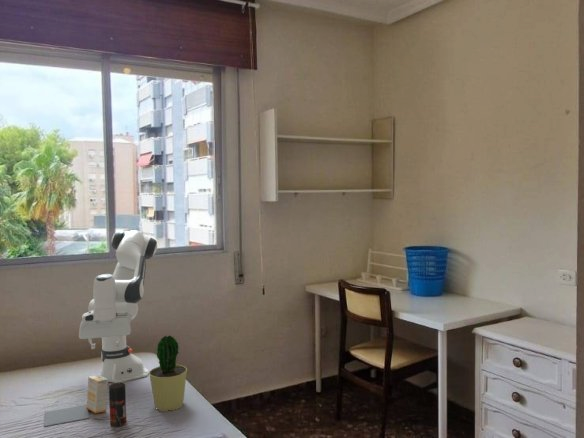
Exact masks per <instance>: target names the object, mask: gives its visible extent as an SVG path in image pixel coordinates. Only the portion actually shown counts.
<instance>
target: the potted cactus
mask: <svg viewBox="0 0 584 438" xmlns="http://www.w3.org/2000/svg"><path fill="white" fill-rule="evenodd" d="M179 343H180V342H179V341H177V339H175V336H174V335H173V336H172V335H164V336H162V337H161V338H160V340H159V341H158V343H157V345H156V346H157V347H155V350H156V358H157V361H156V362H158V364H159V366H156V367H154V368H152V369H150V370H149V371H148V375H149V380H150V386H151V389H152V395H153V401H154V406H155V409H156V408H157V409H159V410H164V411H163V412H169V411H168V410H173V411H176V410H178V408H179V409H181V408H182V406H183V405H184V401H185V391H186V381H187V373H188V368H187V366H184V365H181V364H177V362H178V361H177V359H178V354H181V352H179V349H180V348H181V347H179ZM157 409H156V410H157ZM175 409H176V410H175ZM159 410H158V411H159Z"/></svg>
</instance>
